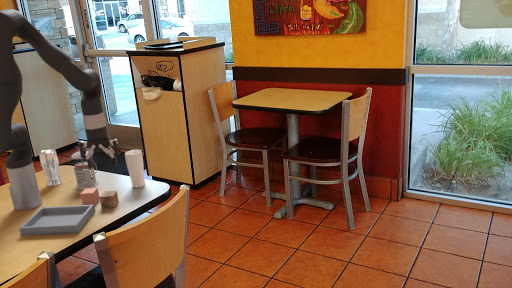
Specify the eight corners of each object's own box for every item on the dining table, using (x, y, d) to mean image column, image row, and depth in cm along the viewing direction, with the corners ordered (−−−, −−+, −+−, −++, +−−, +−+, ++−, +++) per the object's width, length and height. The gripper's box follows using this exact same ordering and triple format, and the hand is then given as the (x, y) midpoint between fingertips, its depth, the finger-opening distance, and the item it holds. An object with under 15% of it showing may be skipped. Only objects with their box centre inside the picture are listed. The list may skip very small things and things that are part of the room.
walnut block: (101, 208, 173) (99, 196, 171) (106, 203, 177) (104, 191, 176) (114, 208, 172) (112, 196, 171) (118, 202, 177) (116, 190, 176)
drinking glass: (142, 189, 188) (137, 154, 183) (127, 189, 189) (121, 155, 185) (149, 182, 194) (144, 149, 189) (134, 182, 195) (129, 149, 191)
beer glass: (47, 182, 204) (39, 150, 199) (63, 179, 205) (56, 148, 201) (45, 188, 197) (37, 155, 193) (62, 185, 199) (55, 152, 194)
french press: (87, 179, 203) (76, 125, 196) (107, 182, 198) (96, 127, 190) (70, 188, 195) (58, 132, 187) (90, 191, 190) (78, 133, 182)
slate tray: (21, 236, 156) (19, 228, 155) (43, 214, 171) (41, 207, 170) (78, 233, 155) (76, 225, 154) (95, 211, 170) (93, 204, 169)
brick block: (82, 205, 177) (80, 193, 175) (87, 200, 182) (85, 188, 180) (95, 204, 177) (92, 193, 175) (99, 199, 181) (97, 187, 180)
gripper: (71, 129, 162) (80, 172, 167) (111, 126, 161) (118, 169, 166) (80, 123, 169) (88, 164, 174) (117, 121, 168) (125, 162, 173)
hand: (103, 167), depth 170 cm, fingers open, 8 cm apart
